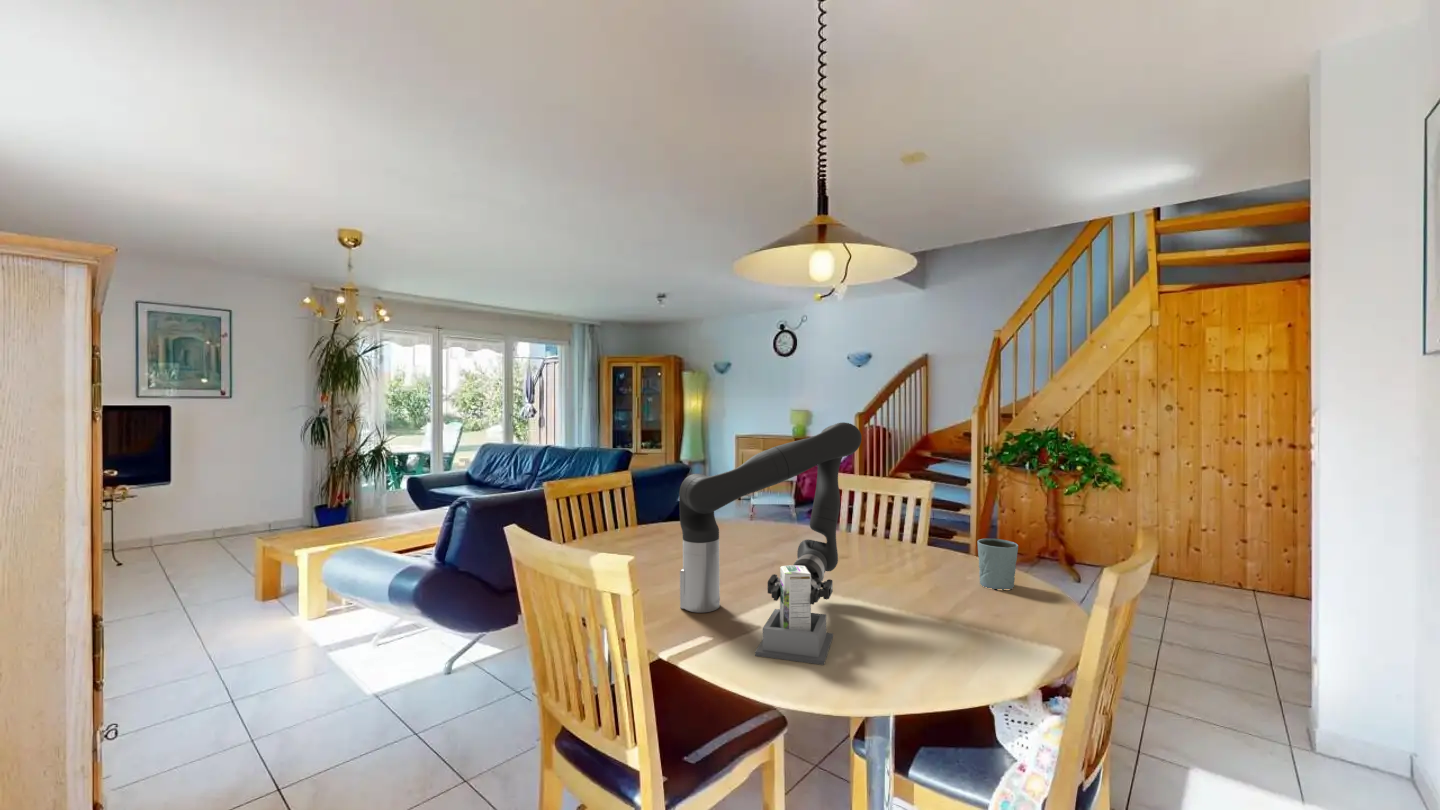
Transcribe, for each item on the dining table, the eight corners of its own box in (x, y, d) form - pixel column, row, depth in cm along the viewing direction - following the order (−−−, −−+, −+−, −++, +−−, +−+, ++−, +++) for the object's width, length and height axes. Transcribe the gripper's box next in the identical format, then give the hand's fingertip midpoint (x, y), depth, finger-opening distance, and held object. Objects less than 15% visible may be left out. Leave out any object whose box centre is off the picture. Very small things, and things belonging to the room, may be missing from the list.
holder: (755, 655, 119) (754, 629, 119) (770, 629, 133) (770, 606, 133) (823, 665, 115) (823, 638, 115) (833, 636, 128) (832, 612, 128)
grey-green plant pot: (970, 580, 166) (970, 538, 166) (1003, 579, 167) (1003, 537, 167) (990, 592, 156) (990, 547, 156) (1026, 591, 157) (1026, 546, 157)
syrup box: (779, 631, 126) (778, 565, 126) (806, 630, 127) (805, 564, 127) (784, 643, 121) (783, 573, 120) (812, 641, 121) (811, 572, 121)
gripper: (776, 555, 139) (759, 577, 124) (837, 560, 135) (827, 583, 119) (777, 587, 140) (760, 612, 124) (837, 592, 135) (828, 619, 119)
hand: (793, 597), depth 122 cm, fingers closed on syrup box, 7 cm apart
